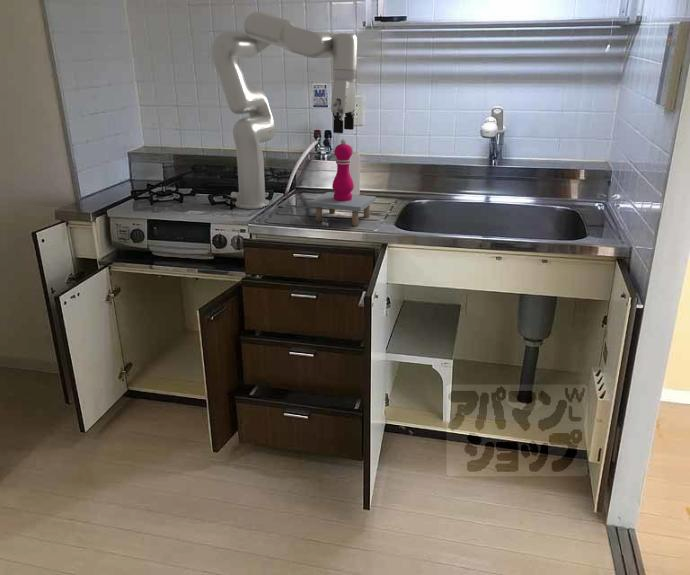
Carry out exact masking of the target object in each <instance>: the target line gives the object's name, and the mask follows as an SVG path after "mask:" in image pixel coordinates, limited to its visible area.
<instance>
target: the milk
mask: <svg viewBox="0 0 690 575" xmlns="http://www.w3.org/2000/svg"><path fill="white" fill-rule="evenodd" d="M347 145H349V146H350V147H351V148H352V156H351V157H350V159H351V161H350V162H351V163H350V164H349V172H350V176H351V178H352V180H353V185H354V188H353V190H352V191H351V192H350V193H351V194H354V195H361V192H360V190H361V154H359V153H357V152H356V151H354V146H353V145H352V144H351V145H350V144H349V143H348V144H347Z"/></svg>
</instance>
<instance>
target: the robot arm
mask: <svg viewBox="0 0 690 575" xmlns="http://www.w3.org/2000/svg"><path fill="white" fill-rule="evenodd" d="M243 28H244V30H226V31H222V32H220V33H218V34H217V35H216V36H215V38H214V39H213V40H212V45H211V51H210V52H211V53H210V54H211V59H212V62H213V64H214V68H215V69H216V73H217V76H218V78H219V80H220V83H221V86H222V90H223V93H224V94H223V95H224V97H225V99H226V102H227V105H228V109H229V110H230V111H231V113H233V115H234V114H235V115H246V114H248V115H249V116H246V117H243V118H242V117H241V118H239V119H238V120H237V121H236V122H235V124H234V125H233V128H232V136H233V141H234V146H235V150H236V151H235V152H236V166H237V176H238V177H237V178H238V182H237V183H238V192H236V191H232V192H231V193H230V198H231V199H236V201H235V203H234V204H235V207H237V208H240V209H247V210H249V209H250V210H253V209H254V210H255V209H263V207H264V208H266V207H265V206H267V205H268V204H269V203H270V200H268V199H266V185H265V182H266V181H265V163H264V162H265V161H264V153H263V149H262V148H261V145H260V144H261V143H266V142H269V141H271V140H272V139H273V138H274V137H275V134H276V123H275V119H274V116H273V113H272V109H271V106H270V103H269V100H268V97H267V95H266V93H265V92H264V90H263V89H262V88H261V87H259V86H258V85H253V84H252V85H251V84H250V85H249V84H248V83H247V81H246V80H247V79H246V77H245V74H244V71H243V69H242V67H241V65H240V64H239V63H238V62H237V60H236V58H252V57H255V56H257V55H258V54H260V53H261V52H263V51H264V50H265V49H266V48H267V47H270V46H271V45H273V46H276V47H279V48H282V49H284V50H287V51H288V52H290V53H293V54H297V55H300V56H303V57H307V58H311V59H327V58H328V59H329V58H332V87H331V88H332V89H331V103H330V111H331V113H332V116H333V117H332V120H333V121H332V122H333V123H332V124H333V125H332V127H333V130H332V131H333V133H334V134H343V133H344V130H349V131H350V130H351V131H352V130H354V128H355V125H354V123H355V122H354V121H355V118H354V117H355V106H356V89H355V88H356V86H355V82H356V81H357V72H358V71H357V67H358V66H357V65H358V64H357V63H358V62H357V61H358V60H357V58H358V37H357V35H356V34H354V33H347V32H346V33H345V32H344V33H343V32H342V33H341V32H340V33H335V32H334V33H333V32H324V31H311V30H307V29H305V28H300V27H297V26H295V25H294V23H293V22H292V21H291V20H290V19H285V18H281V17H279V16H278V15H276V14H275V13H272V12H263V11H254V12H253V11H252V12H251V13H249V14H248V15H247V16H246V17H245V19H244V22H243ZM343 118H344V119H343ZM269 205H270V204H269ZM267 207H268V206H267Z"/></svg>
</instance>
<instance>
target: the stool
mask: <svg viewBox="0 0 690 575" xmlns="http://www.w3.org/2000/svg"><path fill="white" fill-rule="evenodd" d="M334 193H335V191H334V192H333V191H327V192H325V193H323V194H321V195H320V196H318V197H316V198H315V199H312V200H311V201H309V207H314V208H315V222H316V221H317V222H316V223H322V222H323V208H324V209H328V210H329V211H328V212H329V214H333V215H334V214H336V210H339V211H340V210H341V211H350V212H352V214H351V215H352V216H351V220H352V221H351V226H352V225H353V226H352V227H358V226H359V212H360V213H361V212H362V211H363V218H366V219H367V218H370V211H371V210H370V209H371V208H370V207H371V205H372V204H374V203H375V202H376V201H377V200H376V199H377V197H376V196H373V195H365V194H364V195H362V194H360V195H354V194H352V199H351V200H349V201H337V200H334ZM321 221H322V222H321Z"/></svg>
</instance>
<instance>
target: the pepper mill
mask: <svg viewBox="0 0 690 575" xmlns="http://www.w3.org/2000/svg"><path fill="white" fill-rule="evenodd" d="M349 145H350V144H349ZM349 145H348V144H347V140H346V139H341V140H340V144H338V145H337V146H335V147H334V151H333V154H334V156H335V157H336V158H335V164H336V168H337V169H336V174H335V176H334V179H333V181H332V190H333V191H334V200H337V201H349V200H351V199H352V194H351V193H350V192H351V191H352V190H353V188H354V185H353V180H352V178H351V176H350V172H349V164H350V163H351V162H350V161H351V159H350V157H351V156H352V148H351V147H350V146H349Z"/></svg>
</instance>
